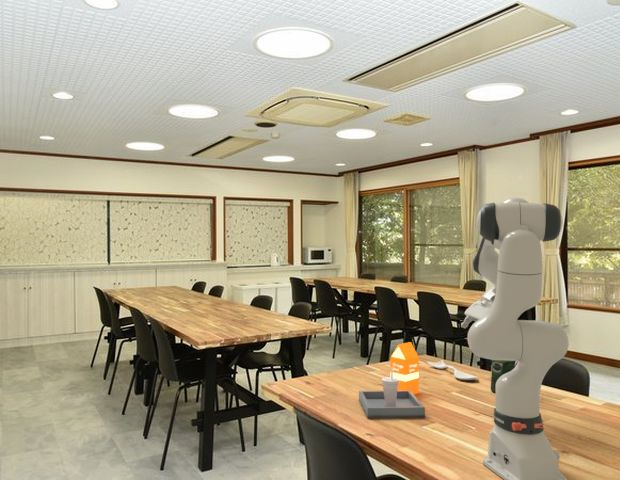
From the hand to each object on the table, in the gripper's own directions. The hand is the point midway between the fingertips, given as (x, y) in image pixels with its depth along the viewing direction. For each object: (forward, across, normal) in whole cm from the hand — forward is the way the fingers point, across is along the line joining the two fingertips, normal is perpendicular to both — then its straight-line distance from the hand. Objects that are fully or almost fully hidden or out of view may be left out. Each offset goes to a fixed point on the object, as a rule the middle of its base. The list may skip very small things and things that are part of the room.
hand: (467, 329), depth 176 cm
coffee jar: (+5, -21, +37) cm, 43 cm away
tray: (+40, -4, +1) cm, 40 cm away
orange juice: (+33, -23, +9) cm, 41 cm away
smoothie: (+40, -4, +1) cm, 40 cm away
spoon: (+13, -52, +30) cm, 61 cm away
